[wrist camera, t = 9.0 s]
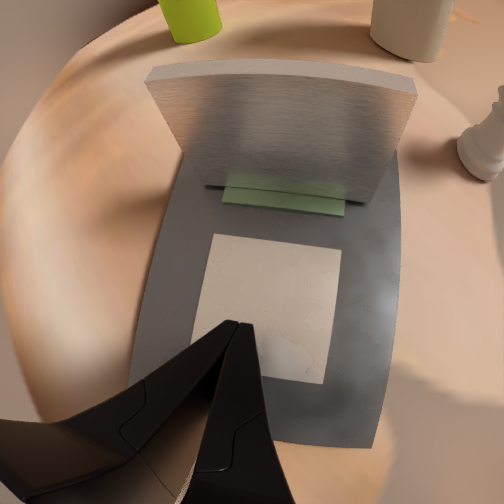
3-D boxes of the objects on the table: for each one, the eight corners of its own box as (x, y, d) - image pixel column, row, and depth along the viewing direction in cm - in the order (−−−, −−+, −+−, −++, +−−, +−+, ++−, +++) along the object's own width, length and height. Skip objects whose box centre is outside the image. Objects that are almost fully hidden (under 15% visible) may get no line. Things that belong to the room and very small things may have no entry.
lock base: (367, 442, 13) (401, 487, 7) (133, 396, 15) (70, 410, 9) (390, 137, 18) (412, 77, 12) (204, 120, 21) (180, 62, 15)
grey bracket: (369, 203, 15) (417, 95, 7) (201, 184, 17) (144, 81, 9) (367, 121, 17) (389, 18, 9) (225, 109, 19) (194, 11, 11)
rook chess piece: (455, 172, 17) (506, 101, 9) (451, 130, 18) (488, 60, 10) (498, 192, 16) (554, 134, 8) (492, 149, 17) (535, 90, 9)
